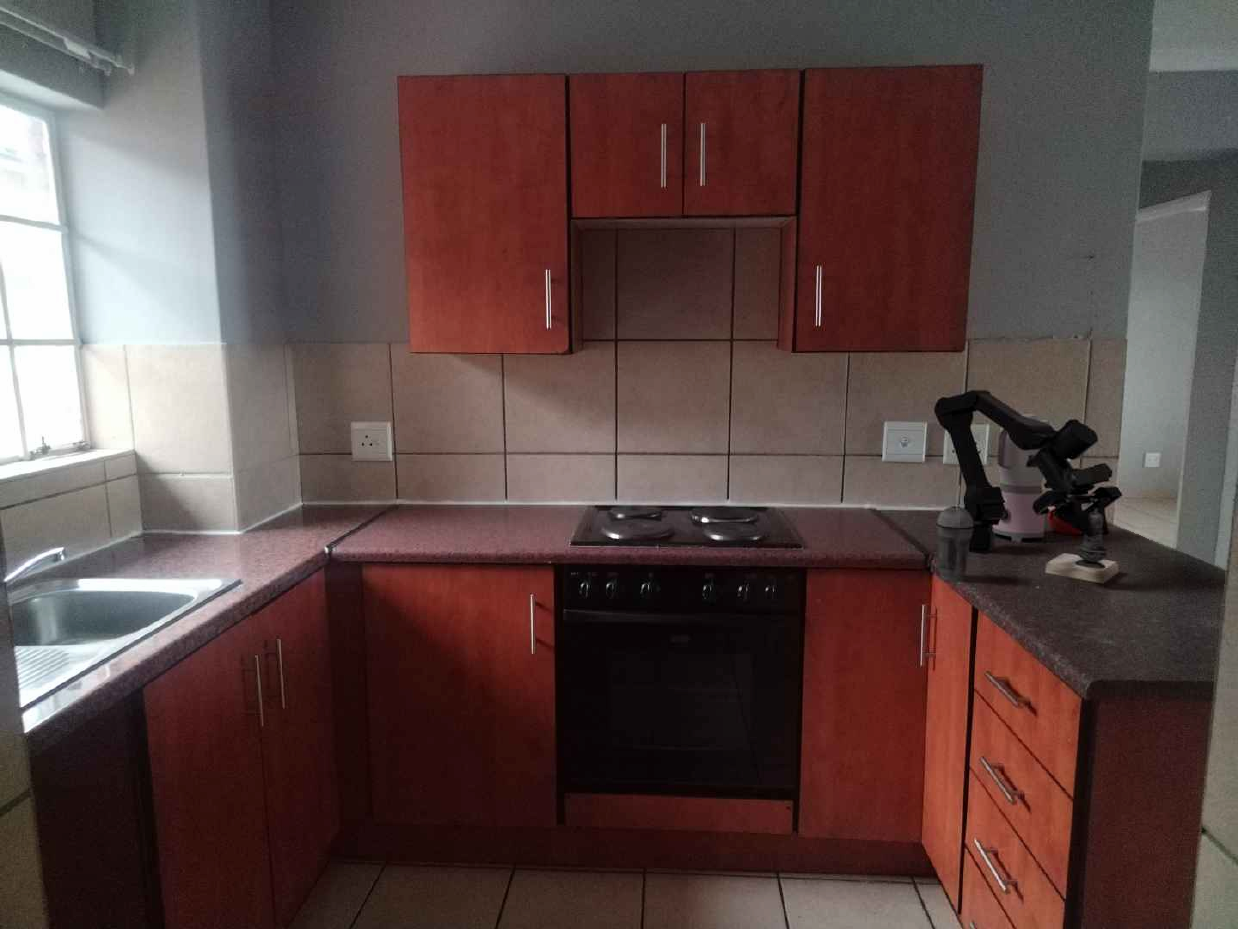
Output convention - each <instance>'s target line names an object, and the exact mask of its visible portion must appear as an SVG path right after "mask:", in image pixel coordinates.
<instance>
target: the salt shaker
mask: <svg viewBox="0 0 1238 929" xmlns="http://www.w3.org/2000/svg"><path fill="white" fill-rule="evenodd" d="M1097 511H1098V509H1097V508H1096V509H1095V512H1092V513H1089V514H1088V515H1087V520H1088V522H1089V524H1090V526H1091V528H1092V530H1093V532H1094V536H1092V537H1088V536H1087V535H1085V534H1084V536H1083V537H1084V538H1083V540H1082V543H1079V544H1076V545H1075V546H1074V547H1075V549H1076V555H1078V556H1079V557H1080V558H1082V559H1084V560H1078V561H1076V562H1075V564H1077V565H1079V566H1082V567H1086V568H1093V569H1103V568H1105V565H1103V564H1102V563H1100V562H1098V561H1101V560H1105V558H1106V556H1107V554H1108V552H1110V550H1109V548H1107V547H1104V546H1103V543H1102V542H1103V541H1102V540H1103V534H1102V533H1103V532H1104V530H1102V528H1103V520H1104V517H1103V515H1102V514H1100V513H1099V512H1097Z"/></svg>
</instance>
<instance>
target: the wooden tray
mask: <svg viewBox="0 0 1238 929" xmlns="http://www.w3.org/2000/svg"><path fill="white" fill-rule="evenodd" d="M1078 560H1084V559H1082V558H1080V557H1079V556H1078V554H1073V553H1072V554H1071V553H1066V552H1065V553H1064V552H1063V553H1060V555H1058V556H1056V557H1054V558H1053V559H1051V560H1049V561H1048V562H1045V572H1044V573H1046V574H1051V575H1055V576H1056V575H1057V576H1062V577H1067V578H1071V579H1077V580H1083V581H1089V582H1094V583H1099V584H1106V582H1108V581H1109V580H1110V579H1111V578H1113V577H1114V576H1116V575H1117V574H1118V573H1119V563H1117V561H1114V560H1113V561H1112V560H1108V559H1103V560H1101V561H1098V562H1100V563H1102V564H1103V565H1105V568H1103V569H1093V568H1086V567H1082V566H1079V565H1077V564H1075V562H1076V561H1078Z"/></svg>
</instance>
